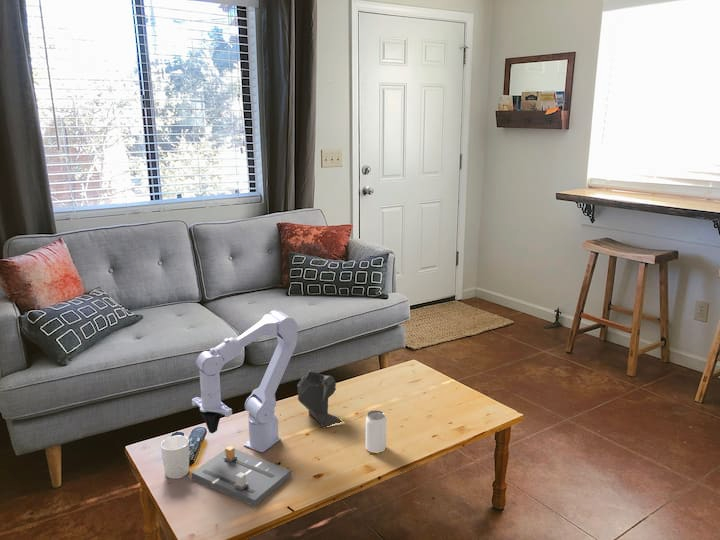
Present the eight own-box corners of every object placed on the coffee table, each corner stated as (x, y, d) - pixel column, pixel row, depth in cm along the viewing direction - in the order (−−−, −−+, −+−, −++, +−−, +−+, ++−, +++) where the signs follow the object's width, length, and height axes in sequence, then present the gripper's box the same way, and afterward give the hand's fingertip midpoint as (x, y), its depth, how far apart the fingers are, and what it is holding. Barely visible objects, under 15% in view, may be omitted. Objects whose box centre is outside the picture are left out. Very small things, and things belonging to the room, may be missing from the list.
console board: (229, 452, 186) (229, 446, 185) (290, 476, 174) (290, 470, 173) (190, 479, 172) (190, 473, 172) (253, 507, 160) (253, 500, 160)
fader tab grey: (240, 481, 167) (240, 470, 167) (248, 484, 166) (248, 473, 165) (233, 486, 165) (233, 475, 164) (242, 490, 164) (241, 479, 163)
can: (387, 444, 191) (388, 411, 188) (383, 455, 185) (383, 421, 182) (368, 441, 192) (368, 408, 189) (363, 452, 186) (363, 418, 183)
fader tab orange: (229, 454, 180) (229, 444, 180) (237, 457, 179) (236, 447, 178) (223, 458, 178) (222, 448, 177) (230, 461, 177) (230, 451, 176)
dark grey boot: (331, 403, 217) (331, 358, 212) (345, 423, 203) (345, 375, 198) (293, 410, 212) (292, 364, 207) (305, 431, 198) (304, 382, 193)
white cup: (180, 461, 181) (178, 432, 178) (196, 471, 176) (194, 441, 173) (158, 473, 175) (155, 443, 172) (173, 483, 170) (170, 453, 167)
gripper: (183, 390, 177) (186, 430, 180) (219, 402, 169) (221, 444, 173) (200, 381, 182) (203, 420, 186) (235, 392, 175) (237, 433, 179)
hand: (213, 431), depth 180 cm, fingers closed
